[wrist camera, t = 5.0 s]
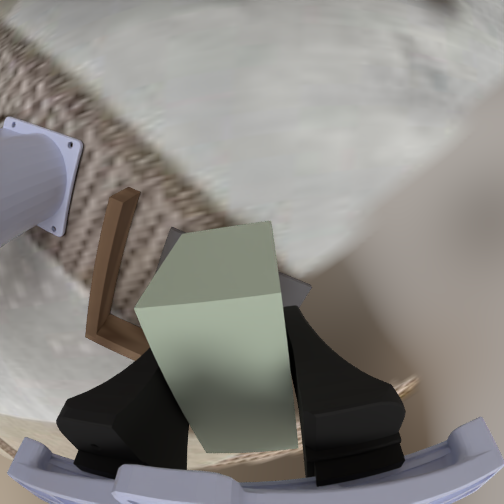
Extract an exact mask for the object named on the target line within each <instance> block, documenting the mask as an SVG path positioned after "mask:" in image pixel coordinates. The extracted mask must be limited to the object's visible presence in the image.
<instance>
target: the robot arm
mask: <svg viewBox="0 0 504 504" xmlns="http://www.w3.org/2000/svg"><path fill="white" fill-rule="evenodd" d="M15 124H16V125H15ZM71 142H72V143H73V147H71V146H70V145H71ZM82 149H83V143H82V141H80V140H78V139H75V138H73V137H70V136H67V135H64V134H61V133H58V132H56V131H53V130H50V129H47V128H44V127H41V126H38V125H35V124H32V123H29V122H26V121H23V120H20V119H17V118H14V117H7V118H6V119H5V122H4V126H3V128H1V129H0V247H2V246H3V245H5V244H6V243H8V242H9V241H11V240H13V239H14V238H16V237H17V236H19V235H21V234H22V233H24V232H26V231H27V230H29V229H31V228H32V227H34V226H36V225H37V226H39V227H41V228H42V229H44V230H46V231H48V232H50V233H52V234H54V235H56V236H58V237H61V236H63V235H64V233H65V229H66V222H67V216H68V210H69V205H70V200H71V195H72V190H73V185H74V181H75V176H76V172H77V168H78V164H79V160H80V156H81V153H82ZM54 227H55V228H56V230H55V229H54ZM283 312H284V320H285V328H286V337H287V345H288V354H289V363H290V371H291V376H292V380H293V384H294V388H295V393H296V397H297V402H298V408H299V416H300V425H301V434H302V444H303V454H304V464H305V475H306V478H301V479H292V480H282V481H267V482H244V483H238V482H237V481H235V480H234V479H232V478H231V477H229V476H226V475H222V474H219V473H214V472H206V471H195V470H187V444H188V430H189V423H188V421H187V419H186V417H185V416H184V414H183V412H182V410H181V408H180V406H179V405H178V403H177V401H176V399H175V397H174V395H173V393H172V391H171V389H170V387H169V385H168V383H167V381H166V379H165V377H164V375H163V373H162V371H161V369H160V367H159V365H158V363H157V361H156V359H155V356H154V354H153V352H152V350H151V348H149V349H148V350H147V351H146V352H145V353H144V354H143V355H141V356H140V357H139V358H138V359H137V360H136V361H135V362H133V363H132V364H131V365H130V366H128V367H127V368H126V369H125V370H123V371H122V372H120V373H119V374H117V375H116V376H114V377H113V378H111V379H109V380H108V381H106V382H105V383H103V384H101V385H99V386H97V387H95V388H93V389H91V390H89V391H87V392H85V393H82V394H80V395H77V396H75V397H72V398H69V399H67V401H66V403H65V405H64V406H63V408H62V410H61V412H60V414H59V416H58V418H57V420H56V423H57V426H58V428H59V430H60V431H61V432H62V434H63V435H64V436H65V437H66V438H67V439H68V440H69V441H70V442H71V443H72V444H73V445H74V446H75V447H76V448H77V449H78V450H79V451H78V453H77V455H76V458H75V460H72V459H69V458H66V457H62V456H59V455H56V454H54V453H52V452H51V451H50V450H49V449H48V448H47V447H46V446H45V445H44V444H42V443H40V442H38V441H36V440H33V439H30V438H28V437H25V438H24V440H23V442H22V444H21V445H20V447H19V449H18V451H17V453H16V455H15V457H14V460H13V462H12V464H11V466H10V468H9V470H8V472H7V473H8V475H9V476H10V477H11V478H13V479H14V480H15V481H16V482H18V483H19V484H20V485H22V486H23V487H24V488H26V489H27V490H28V491H30V492H31V493H33V494H34V495H35V496H37V497H38V498H40V499H41V500H44V501H45V502H48V503H50V504H452V503H454V502H456V501H458V500H460V499H462V498H464V497H466V496H467V495H469V494H471V493H473V492H475V491H476V490H478V489H479V488H480V487H481V486H483V485H484V484H485V483H486V482H487V481H488V480H489V479H490V478H492V477H493V476H494V475H495V474H496V473H497V472H498V471H499V470H500V469H501V468H502V467H504V459H503V457H502V455H501V453H500V451H499V449H498V447H497V445H496V443H495V440H494V439H493V437H492V435H491V433H490V431H489V429H488V427H487V425H486V423H485V421H484V419H483V418H482V417H478V418H476V419H474V420H472V421H470V422H468V423H466V424H463V425H461V426H459V427H458V428H456V429H455V430H453V431H452V432H451V434H450V435H449V437H448V439H447V440H446V441H444V442H441V443H439V444H437V445H434V446H431V447H428V448H426V449H423V450H420V451H418V452H415V453H412V454H409V455H405V456H404V455H403V452H402V449H401V446H400V443H401V437H400V434H399V429H400V427H401V425H402V422H403V420H404V417H405V409H404V405H403V403H402V401H401V399H400V397H399V395H398V394H397V392H396V391H395V389H394V388H393V386H392V385H391V384H389V383H386V382H384V381H381V380H379V379H376V378H374V377H372V376H370V375H368V374H366V373H364V372H362V371H360V370H359V369H358V368H356V367H354V366H353V365H351V364H350V363H348V362H347V361H346V360H344V359H343V358H342V357H340V356H339V355H338V354H337V353H336V352H334V351H333V350H332V349H331V348H330V347H329V346H328V345H327V344H326V343H325V342H324V341H323V340H322V339H321V338H320V337H319V336H318V335H317V333H316V332H315V331H314V330H313V329H312V327H311V326H310V325H309V324H308V322H307V321H306V319H305V318H304V316H303V315H302V313H301V311H300V309H299V307H298V306H296V305H293V306H286V307H283Z"/></svg>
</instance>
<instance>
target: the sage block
mask: <svg viewBox="0 0 504 504" xmlns="http://www.w3.org/2000/svg"><path fill="white" fill-rule="evenodd" d="M134 310H135V312H136V315H137V317H138V320H139V322H140V325H141V327H142V329H143V332H144V334H145V336H146V339H147V341H148V343H149V345H150V348H151V350H152V352H153V354H154V356H155V359H156V361H157V363H158V365H159V367H160V369H161V371H162V373H163V375H164V377H165V379H166V381H167V383H168V385H169V387H170V389H171V391H172V393H173V395H174V397H175V399H176V401H177V403H178V405H179V406H180V408H181V410H182V412H183V414H184V416H185V417H186V419H187V421H188V423H189V424H190V426H191V428H192V430H193V431H194V433H195V435H196V436H197V438H198V440H199V442H200V443H201V445H202V446H203V448H204V450H205V451H206V453H247V452H264V451H277V450H287V449H296V448H298V439H297V429H296V419H295V409H294V400H293V390H292V381H291V372H290V363H289V354H288V345H287V337H286V328H285V320H284V312H283V304H282V296H281V288H280V281H279V274H278V266H277V259H276V252H275V245H274V238H273V231H272V224H271V221H265V222H258V223H251V224H244V225H237V226H230V227H224V228H217V229H211V230H204V231H198V232H191V233H185V234H182V235H181V236H180V238H179V239H178V241H177V242H176V244H175V245H174V247H173V248H172V250H171V251H170V253H169V254H168V256H167V257H166V259H165V260H164V262H163V263H162V265H161V266H160V268H159V269H158V271H157V272H156V274H155V276H154V277H153V279H152V280H151V282H150V283H149V285H148V287H147V288H146V290H145V291H144V293H143V295H142V296H141V298H140V299H139V301H138V303H137V304H136V306H135V308H134Z"/></svg>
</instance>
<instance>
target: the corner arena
mask: <svg viewBox="0 0 504 504" xmlns="http://www.w3.org/2000/svg"><path fill="white" fill-rule="evenodd" d="M139 195H140V192H139V191H137V190H135V189H132V188H130V187H127V188H126V189H124V190H122V191H120V192H118V193H116V194H114V195H112V196H111V197H110V198H109V201H108V205H107V209H106V213H105V217H104V222H103V226H102V230H101V235H100V240H99V245H98V250H97V255H96V260H95V266H94V272H93V278H92V284H91V291H90V298H89V306H88V314H87V324H86V334H85V337H86V338H88V339H90V340H92V341H94V342H96V343H98V344H100V345H102V346H104V347H106V348H108V349H110V350H112V351H115V352H117V353H119V354H121V355H123V356H126V357H128V358H130V359H132V360H135V361H136V360H137V359H138V358H139V357H140V356H141V355H143V354H144V353H145V352H146V351H147V350H148V349H149V348H150V345H149V343H148V341H147V339H146V336H145V334H144V332H143V329H142V328H140V327H138V326H136V325H133V324H131V323H129V322H127V321H125V320H122V319H120V318H118V317H116V316H114V315H112V314H110V311H111V306H112V301H113V296H114V291H115V286H116V282H117V277H118V273H119V268H120V264H121V260H122V256H123V252H124V248H125V244H126V240H127V236H128V233H129V229H130V225H131V222H132V218H133V215H134V212H135V208H136V205H137V202H138V199H139ZM182 234H185V232H183V231H180V230H178V229H176V228H173V227H171V229H170V231H169V234H168V237H167V240H166V243H165V246H164V249H163V252H162V255H161V258H160V261H159V264H158V267H157V270H156V272H157V271H158V269H159V268H160V266H161V265H162V263H163V262H164V260H165V259H166V257H167V256H168V254H169V253H170V251H171V250H172V248H173V247H174V245H175V244H176V242H177V241H178V239H179V238H180V236H181V235H182ZM155 274H156V273H155ZM278 274H279V281H280V288H281V296H282V304H283V307H286V306H293V305H296V306H298V307H300V306H301V304H302V302H303V301H304V299H305V298H306V296H307V294H308V293H309V291H310V290H311V288H312V287H311V285H310V284H307V283H305V282H303V281H300V280H298V279H295V278H293V277H291V276H288V275H286V274H283V273H281V272H278Z"/></svg>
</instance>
